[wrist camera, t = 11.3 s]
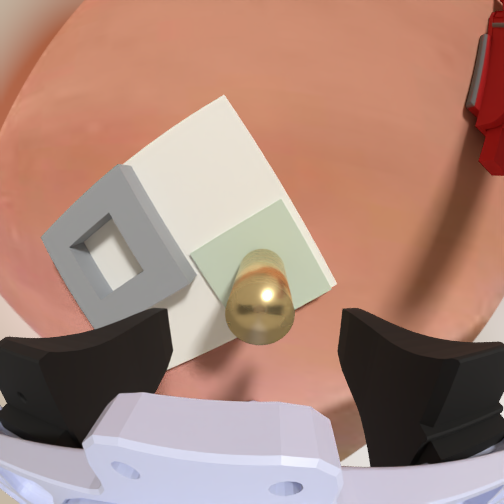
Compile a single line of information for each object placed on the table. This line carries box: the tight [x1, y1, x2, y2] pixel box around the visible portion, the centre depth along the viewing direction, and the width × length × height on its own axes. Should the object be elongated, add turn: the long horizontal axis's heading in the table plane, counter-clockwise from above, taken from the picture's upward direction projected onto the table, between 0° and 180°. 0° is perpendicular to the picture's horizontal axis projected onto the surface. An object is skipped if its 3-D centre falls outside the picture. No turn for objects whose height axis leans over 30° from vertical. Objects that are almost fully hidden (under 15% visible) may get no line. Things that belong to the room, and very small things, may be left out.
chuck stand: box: [41, 95, 337, 370], centre depth 19 cm, size 15×17×3 cm
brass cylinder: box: [225, 249, 295, 345], centre depth 16 cm, size 3×3×7 cm
